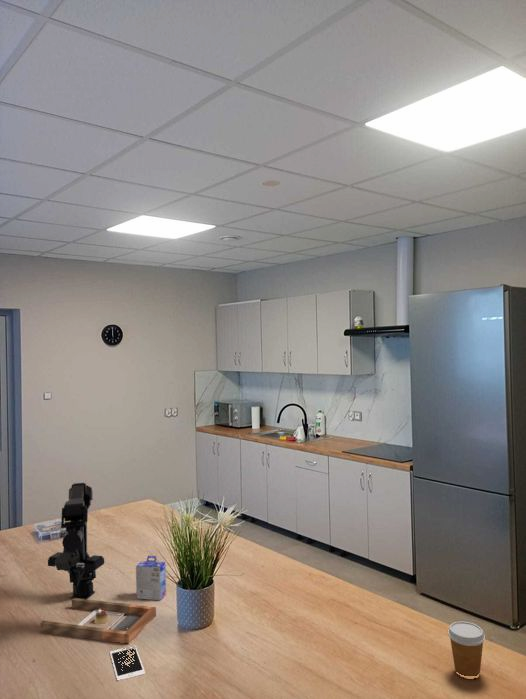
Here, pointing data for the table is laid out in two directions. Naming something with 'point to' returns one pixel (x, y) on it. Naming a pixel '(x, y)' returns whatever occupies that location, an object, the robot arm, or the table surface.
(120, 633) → the walled channel
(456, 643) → the disposable coffee cup
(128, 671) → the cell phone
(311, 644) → the table surface
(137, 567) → the ink cartridge box
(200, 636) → the table surface
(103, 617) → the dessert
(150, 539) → the table surface
